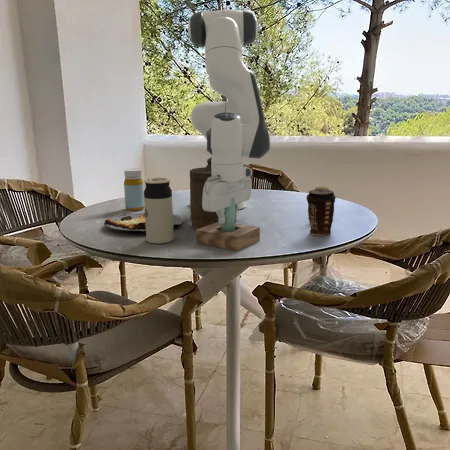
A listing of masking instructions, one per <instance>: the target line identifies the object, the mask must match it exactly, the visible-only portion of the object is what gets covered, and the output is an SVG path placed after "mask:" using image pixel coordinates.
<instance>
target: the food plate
mask: <svg viewBox="0 0 450 450" xmlns="http://www.w3.org/2000/svg"><path fill="white" fill-rule="evenodd" d="M182 222H183V220H182V217H180V216H179V215H177V214H174V213H173V226H175V225H181V224H182ZM103 225H104V227H107V228H109V229H112V230H115V231H124V232H129V233H131V232H139V233H140V232H146V222H145V212H138V213H137V212H135V213H131V212H130V213H124V214H120V215H117V216H114V217H110V218H107V219H105V220H104V223H103Z"/></svg>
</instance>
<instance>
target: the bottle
mask: <svg viewBox="0 0 450 450" xmlns="http://www.w3.org/2000/svg"><path fill="white" fill-rule="evenodd" d="M123 188H124V189H123V190H124V191H123V192H124V202H125V203H124V204H125V209H126V210H127V211H128V212H138V211H139V212H140V211H143V210H145V205H144V180H143V178H142V169H141V168H128V169H124V182H123Z"/></svg>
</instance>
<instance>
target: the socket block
mask: <svg viewBox="0 0 450 450" xmlns="http://www.w3.org/2000/svg"><path fill="white" fill-rule="evenodd" d="M260 230H261V227H260V226H255V225H250V224H249V225H248V224H241V223H237V222H236V223H235V231H232V232H228V231H222V230H221V223H219V221H218V222H216V223H213V224H210V225H208V226H205V227H202V228H200V229H195V241H196V244H199V245H203V246H204V245H205V246H209V247H215V248H221V249H224V250H231V251H235V252H238V251H240V250H243V249H246V248H248V247H249V246H251V245H253V244H255V243H257V242H259V241H260V239H261V238H260V237H261V235H260V232H261V231H260Z"/></svg>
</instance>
